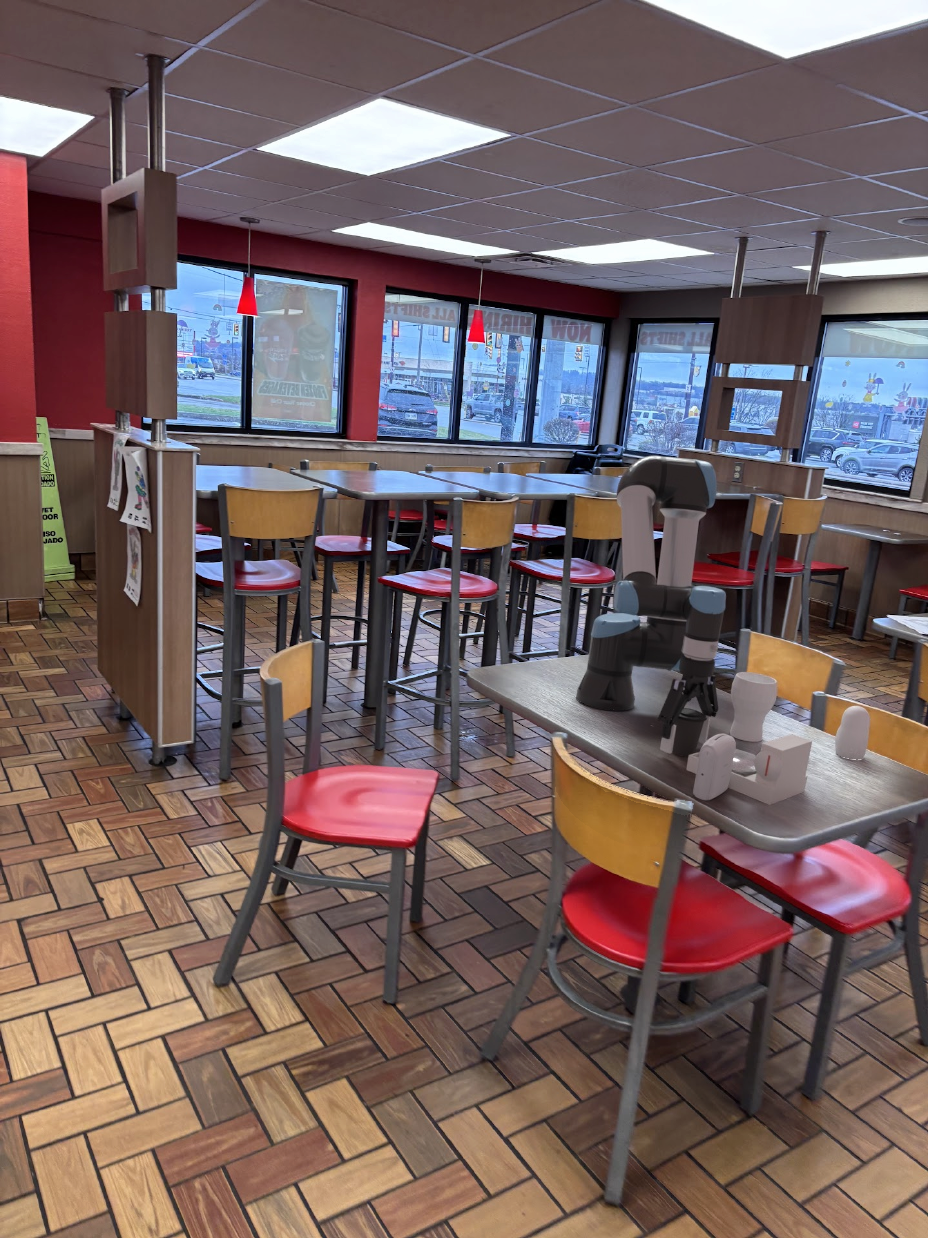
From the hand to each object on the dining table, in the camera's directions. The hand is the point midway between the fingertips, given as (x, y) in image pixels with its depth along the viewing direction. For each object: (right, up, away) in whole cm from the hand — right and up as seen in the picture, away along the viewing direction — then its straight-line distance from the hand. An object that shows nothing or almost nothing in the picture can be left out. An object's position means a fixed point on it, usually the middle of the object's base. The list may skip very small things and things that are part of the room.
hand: (683, 746), depth 206 cm
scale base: (+10, -5, -13) cm, 17 cm away
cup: (+19, 0, +16) cm, 25 cm away
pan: (+8, -4, -11) cm, 14 cm away
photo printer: (0, -7, -21) cm, 22 cm away
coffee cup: (0, -2, 0) cm, 2 cm away
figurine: (+42, -4, +11) cm, 43 cm away
